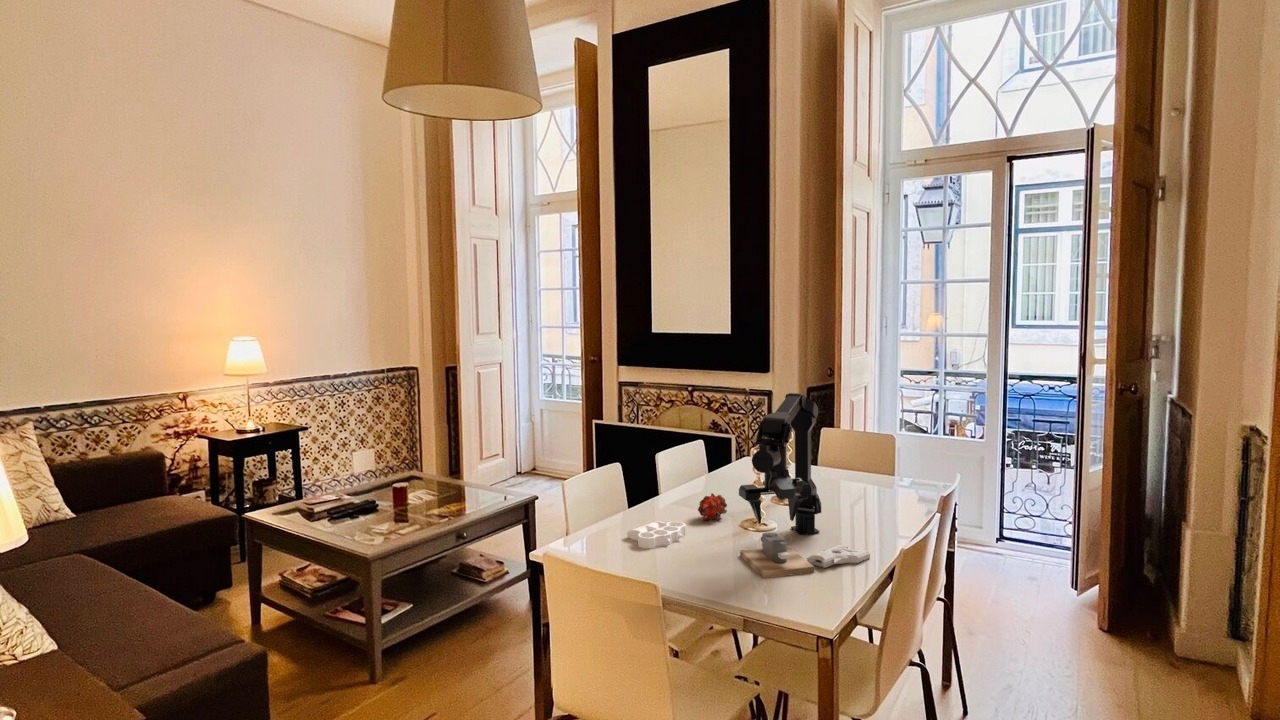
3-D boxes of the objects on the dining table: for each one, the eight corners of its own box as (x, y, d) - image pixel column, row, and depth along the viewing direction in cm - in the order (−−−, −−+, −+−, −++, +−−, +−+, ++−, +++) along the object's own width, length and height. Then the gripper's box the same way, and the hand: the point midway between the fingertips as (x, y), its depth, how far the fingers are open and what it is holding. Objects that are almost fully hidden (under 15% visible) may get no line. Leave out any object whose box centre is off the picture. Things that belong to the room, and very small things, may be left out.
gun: (837, 561, 177) (803, 552, 185) (836, 575, 177) (803, 565, 185) (874, 547, 189) (841, 539, 197) (873, 560, 190) (841, 551, 197)
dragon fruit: (726, 518, 229) (704, 533, 221) (708, 500, 233) (685, 514, 225) (737, 501, 225) (715, 516, 216) (718, 483, 228) (695, 496, 220)
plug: (757, 548, 193) (757, 530, 193) (770, 547, 194) (770, 529, 193) (778, 567, 179) (778, 548, 179) (792, 565, 180) (792, 546, 180)
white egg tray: (660, 526, 219) (696, 537, 209) (619, 542, 206) (656, 553, 196) (660, 516, 219) (696, 526, 209) (619, 530, 206) (656, 541, 196)
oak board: (740, 555, 192) (740, 550, 192) (787, 550, 195) (787, 545, 195) (763, 577, 176) (763, 572, 176) (814, 572, 180) (814, 566, 179)
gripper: (753, 474, 175) (754, 535, 176) (822, 468, 179) (822, 528, 180) (737, 464, 186) (738, 521, 187) (802, 459, 190) (802, 515, 191)
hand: (775, 522), depth 186 cm, fingers open, 9 cm apart
